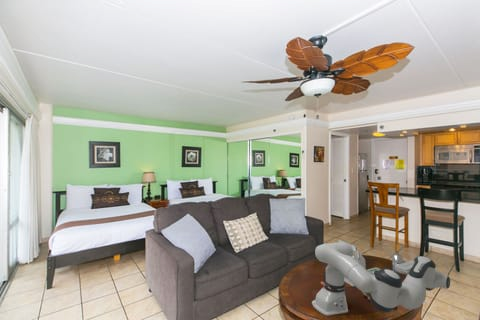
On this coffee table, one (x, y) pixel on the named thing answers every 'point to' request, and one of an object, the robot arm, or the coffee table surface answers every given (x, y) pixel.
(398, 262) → the brushed metal cylinder
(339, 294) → the robot arm
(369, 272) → the plate
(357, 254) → the gable box
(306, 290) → the coffee table surface
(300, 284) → the coffee table surface
